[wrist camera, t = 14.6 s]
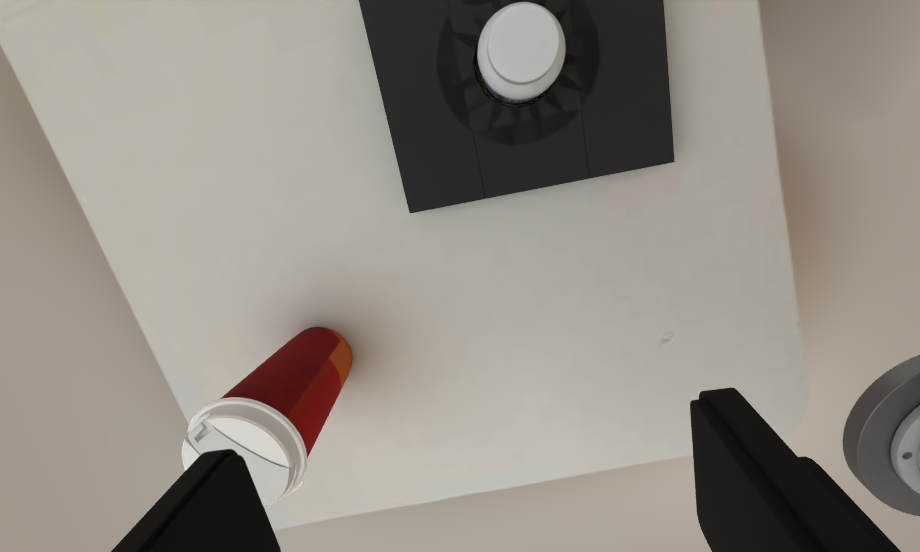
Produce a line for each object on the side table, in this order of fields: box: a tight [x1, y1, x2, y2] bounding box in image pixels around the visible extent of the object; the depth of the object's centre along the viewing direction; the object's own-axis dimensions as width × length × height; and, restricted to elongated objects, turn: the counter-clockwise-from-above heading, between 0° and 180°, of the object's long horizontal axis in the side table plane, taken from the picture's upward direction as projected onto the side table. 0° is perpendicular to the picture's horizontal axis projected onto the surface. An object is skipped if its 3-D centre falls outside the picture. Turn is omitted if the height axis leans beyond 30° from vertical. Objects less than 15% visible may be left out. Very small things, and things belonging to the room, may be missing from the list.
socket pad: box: [359, 0, 674, 213], centre depth 33 cm, size 20×16×2 cm
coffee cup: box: [182, 327, 352, 507], centre depth 36 cm, size 8×8×15 cm
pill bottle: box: [477, 2, 566, 104], centre depth 30 cm, size 5×5×10 cm
